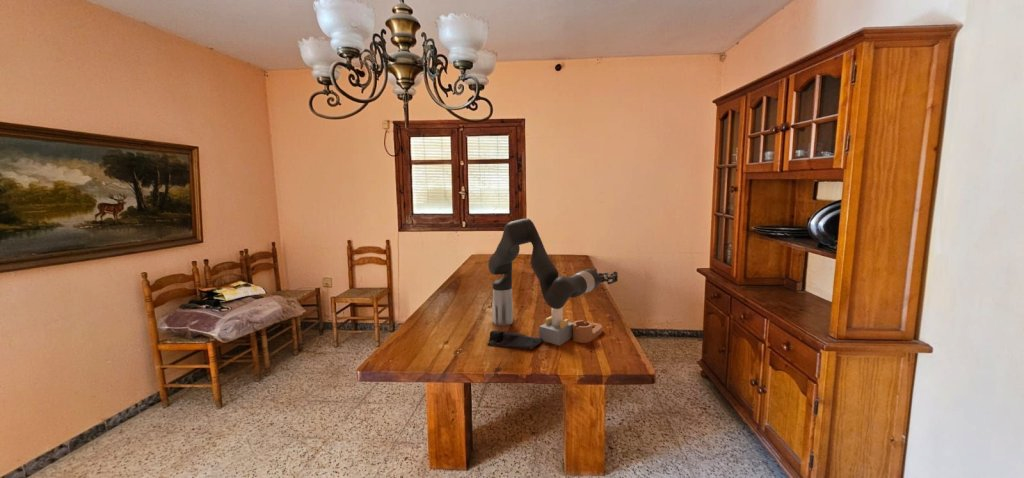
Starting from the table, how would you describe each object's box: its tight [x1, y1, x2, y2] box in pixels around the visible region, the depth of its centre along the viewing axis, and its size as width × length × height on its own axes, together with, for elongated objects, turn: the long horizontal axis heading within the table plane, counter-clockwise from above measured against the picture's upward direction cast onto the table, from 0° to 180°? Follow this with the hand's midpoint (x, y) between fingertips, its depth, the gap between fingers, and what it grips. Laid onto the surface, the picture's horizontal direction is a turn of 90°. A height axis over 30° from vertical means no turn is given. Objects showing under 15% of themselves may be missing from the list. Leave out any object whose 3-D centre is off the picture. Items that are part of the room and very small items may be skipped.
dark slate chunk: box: [486, 330, 544, 350], centre depth 168 cm, size 15×22×5 cm
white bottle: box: [551, 306, 564, 327], centre depth 169 cm, size 5×5×10 cm
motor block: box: [538, 315, 573, 346], centre depth 172 cm, size 15×10×8 cm, turn 140°
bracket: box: [572, 319, 603, 344], centre depth 173 cm, size 18×8×7 cm, turn 142°
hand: (605, 272), depth 152 cm, fingers open, 8 cm apart
